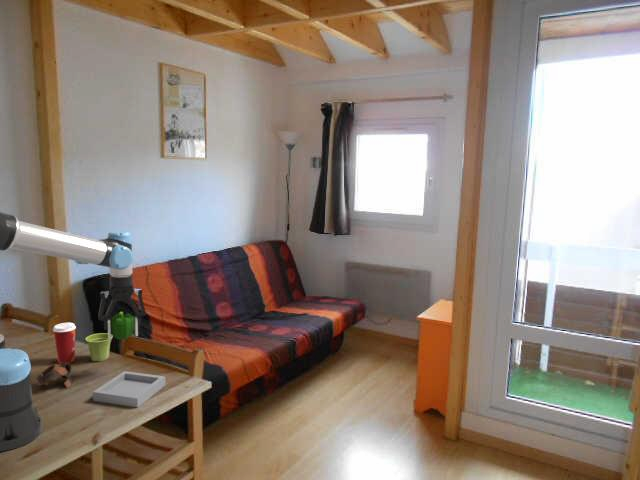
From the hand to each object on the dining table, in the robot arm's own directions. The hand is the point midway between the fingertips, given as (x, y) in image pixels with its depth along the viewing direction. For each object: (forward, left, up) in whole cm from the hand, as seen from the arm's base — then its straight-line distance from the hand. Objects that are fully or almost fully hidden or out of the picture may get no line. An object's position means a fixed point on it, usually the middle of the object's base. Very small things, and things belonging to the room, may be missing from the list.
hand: (123, 336), depth 170 cm
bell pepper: (0, 0, -1) cm, 1 cm away
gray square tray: (-14, -12, -13) cm, 23 cm away
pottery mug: (-15, +15, -14) cm, 25 cm away
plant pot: (+7, +16, -14) cm, 22 cm away
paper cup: (+2, +27, -13) cm, 30 cm away
